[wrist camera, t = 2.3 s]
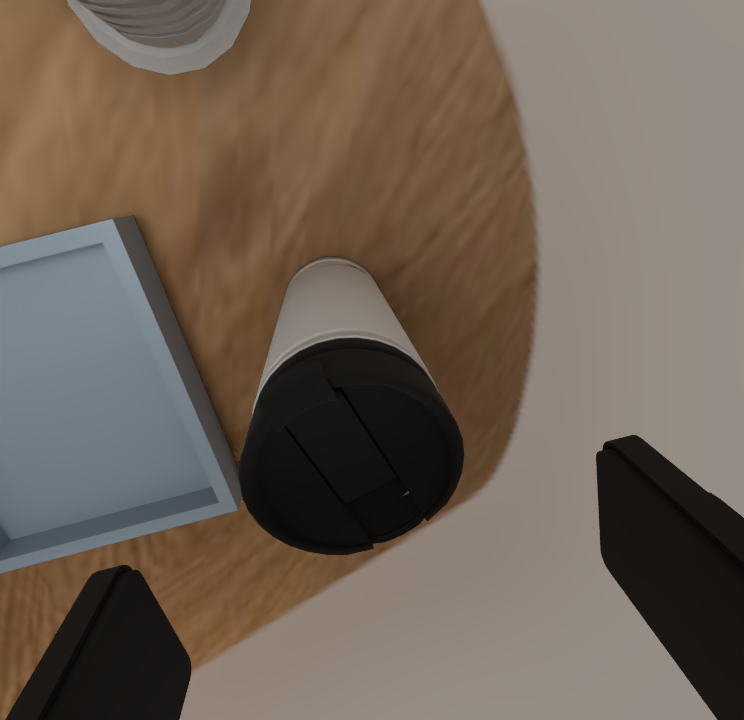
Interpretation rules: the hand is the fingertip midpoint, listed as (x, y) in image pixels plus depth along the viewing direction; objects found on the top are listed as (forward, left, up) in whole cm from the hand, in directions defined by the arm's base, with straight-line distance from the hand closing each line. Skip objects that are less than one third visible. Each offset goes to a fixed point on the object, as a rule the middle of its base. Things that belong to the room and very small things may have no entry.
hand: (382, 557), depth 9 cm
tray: (-2, +19, -23) cm, 30 cm away
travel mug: (0, 0, -23) cm, 23 cm away
